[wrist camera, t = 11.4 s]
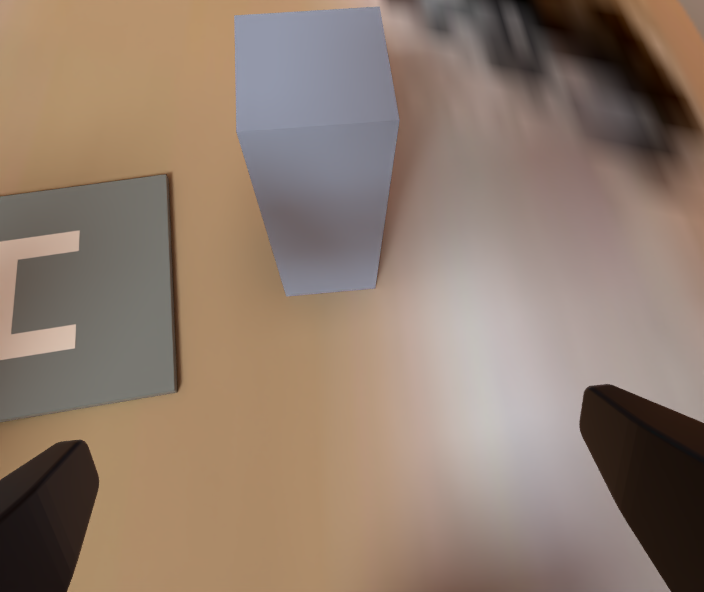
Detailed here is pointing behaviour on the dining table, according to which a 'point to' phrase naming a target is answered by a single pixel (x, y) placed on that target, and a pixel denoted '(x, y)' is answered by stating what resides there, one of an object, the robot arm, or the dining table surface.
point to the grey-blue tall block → (318, 140)
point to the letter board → (86, 297)
